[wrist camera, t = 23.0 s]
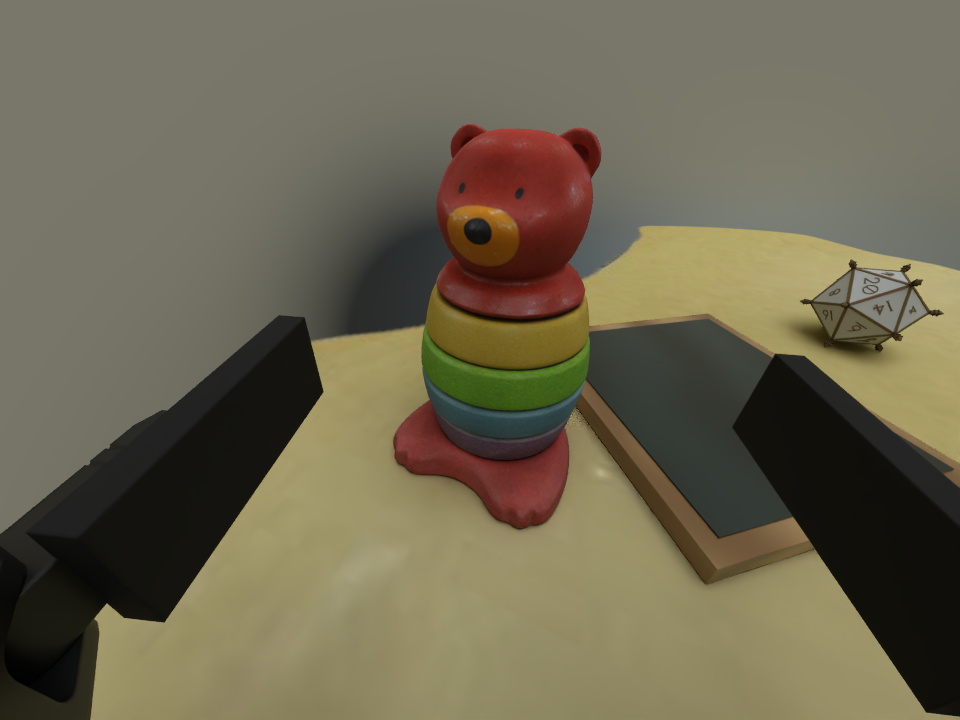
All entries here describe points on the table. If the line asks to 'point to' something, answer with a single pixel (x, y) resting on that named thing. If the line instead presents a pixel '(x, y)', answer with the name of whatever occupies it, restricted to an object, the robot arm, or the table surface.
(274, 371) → the robot arm
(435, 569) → the table surface
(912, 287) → the game die
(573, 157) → the stacking bear
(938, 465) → the chalkboard
